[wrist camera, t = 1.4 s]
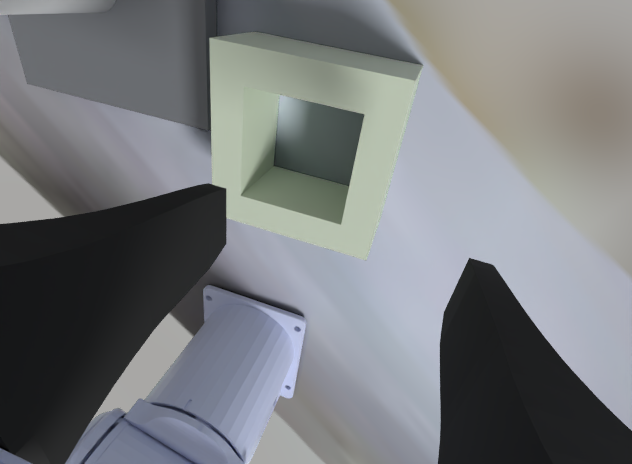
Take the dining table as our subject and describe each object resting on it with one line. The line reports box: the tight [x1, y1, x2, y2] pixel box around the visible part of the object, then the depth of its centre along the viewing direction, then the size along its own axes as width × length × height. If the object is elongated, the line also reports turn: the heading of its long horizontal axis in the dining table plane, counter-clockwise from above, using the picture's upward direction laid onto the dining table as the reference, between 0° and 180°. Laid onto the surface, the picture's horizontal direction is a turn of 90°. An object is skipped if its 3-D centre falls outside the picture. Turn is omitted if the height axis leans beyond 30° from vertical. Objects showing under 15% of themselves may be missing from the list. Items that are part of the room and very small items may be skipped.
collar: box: [209, 32, 423, 260], centre depth 17 cm, size 8×8×4 cm
